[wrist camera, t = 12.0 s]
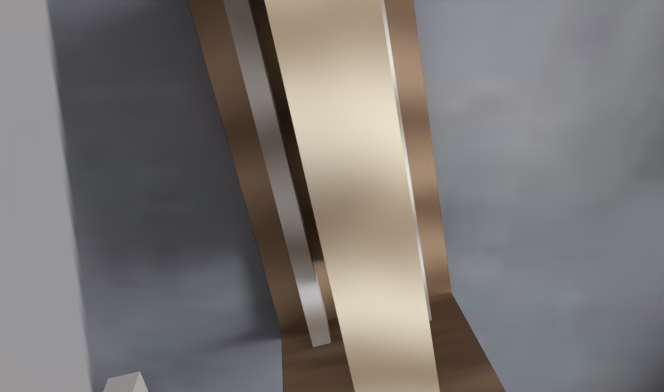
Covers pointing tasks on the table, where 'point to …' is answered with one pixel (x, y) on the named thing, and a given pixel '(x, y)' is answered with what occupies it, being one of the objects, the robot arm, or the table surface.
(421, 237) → the wooden rack
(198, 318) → the table surface
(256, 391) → the table surface
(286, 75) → the door panel
